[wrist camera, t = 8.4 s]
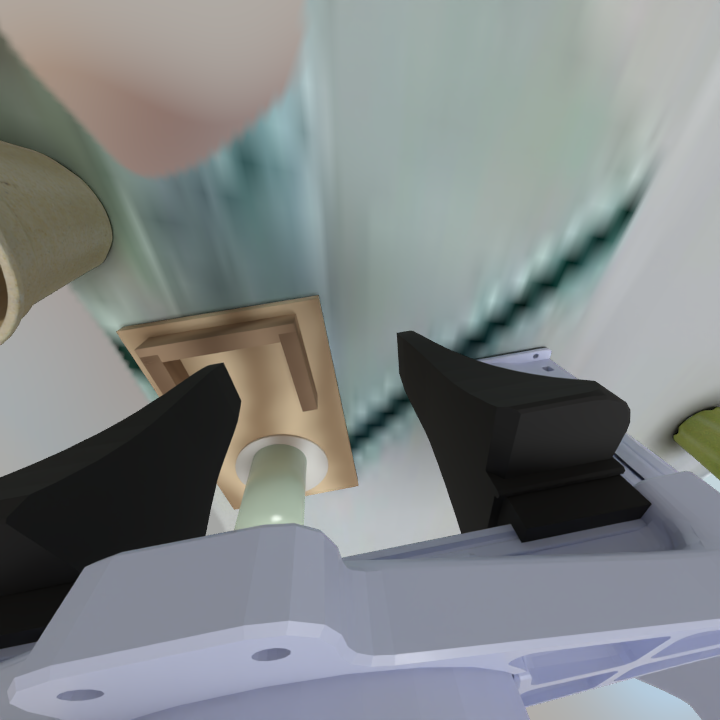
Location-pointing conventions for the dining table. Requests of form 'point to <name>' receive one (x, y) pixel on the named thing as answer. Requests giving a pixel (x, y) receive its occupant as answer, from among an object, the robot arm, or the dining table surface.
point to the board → (260, 384)
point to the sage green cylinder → (274, 488)
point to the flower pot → (43, 231)
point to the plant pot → (702, 438)
